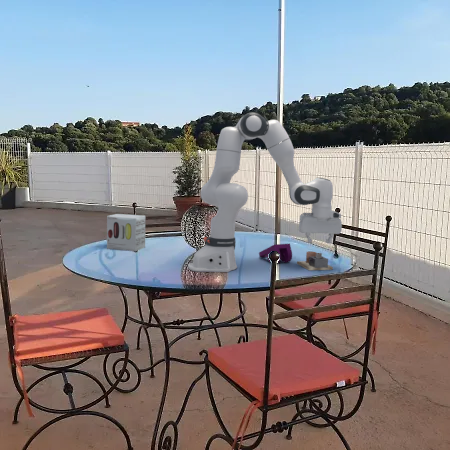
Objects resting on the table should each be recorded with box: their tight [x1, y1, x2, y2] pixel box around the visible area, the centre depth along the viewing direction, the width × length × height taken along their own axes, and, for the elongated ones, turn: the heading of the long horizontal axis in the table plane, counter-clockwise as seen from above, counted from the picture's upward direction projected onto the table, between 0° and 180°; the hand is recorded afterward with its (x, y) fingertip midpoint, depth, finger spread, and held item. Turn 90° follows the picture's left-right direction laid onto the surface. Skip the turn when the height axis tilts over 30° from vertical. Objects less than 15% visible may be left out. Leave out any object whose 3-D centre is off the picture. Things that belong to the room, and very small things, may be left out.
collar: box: [309, 256, 329, 268], centre depth 214 cm, size 6×6×4 cm
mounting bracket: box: [258, 243, 293, 264], centre depth 229 cm, size 10×8×18 cm
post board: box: [296, 250, 334, 271], centre depth 218 cm, size 12×14×7 cm
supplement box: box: [106, 213, 146, 252], centre depth 249 cm, size 17×13×18 cm
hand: (318, 242), depth 212 cm, fingers open, 8 cm apart
